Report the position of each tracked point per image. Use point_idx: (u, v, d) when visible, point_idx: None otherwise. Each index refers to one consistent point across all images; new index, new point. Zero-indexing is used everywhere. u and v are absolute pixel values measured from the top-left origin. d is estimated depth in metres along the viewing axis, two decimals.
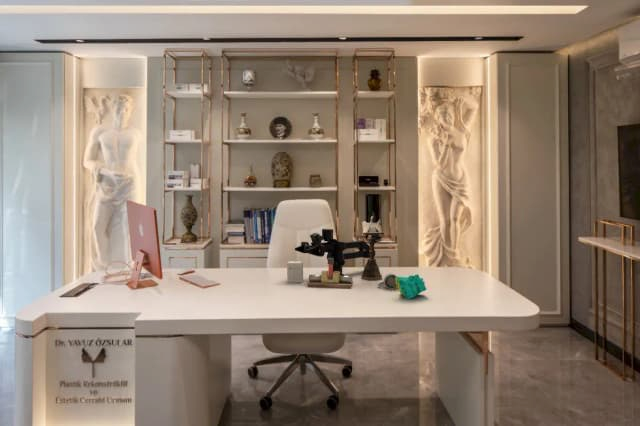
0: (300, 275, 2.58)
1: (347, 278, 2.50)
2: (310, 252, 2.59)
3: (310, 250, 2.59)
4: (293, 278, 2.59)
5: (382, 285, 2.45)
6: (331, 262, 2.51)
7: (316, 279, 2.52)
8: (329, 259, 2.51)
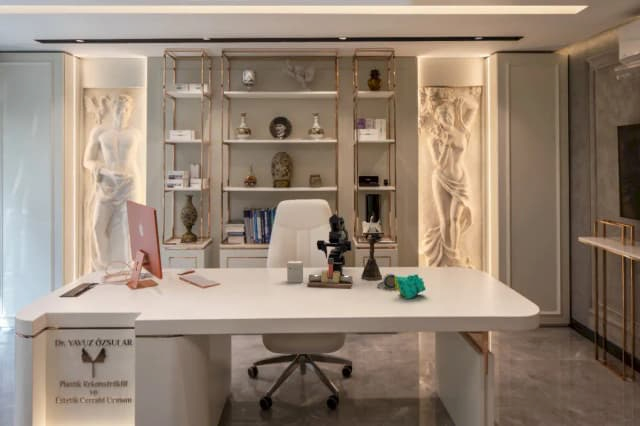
0: (300, 275, 2.58)
1: (347, 278, 2.50)
2: (341, 254, 2.63)
3: (341, 253, 2.62)
4: (293, 278, 2.59)
5: (381, 285, 2.45)
6: (331, 262, 2.51)
7: (316, 279, 2.52)
8: (329, 259, 2.51)
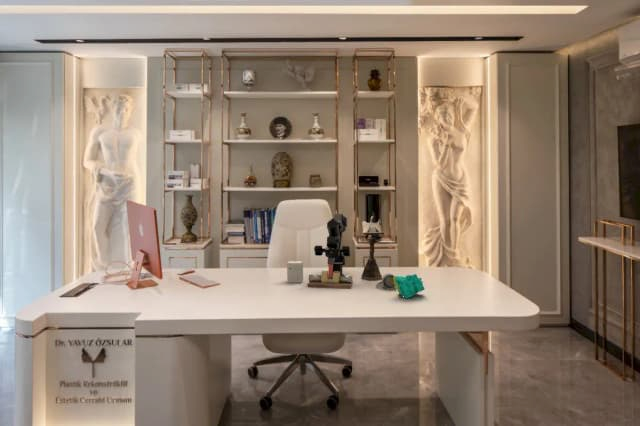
0: (300, 275, 2.58)
1: (347, 278, 2.50)
2: (334, 259, 2.55)
3: (333, 259, 2.54)
4: (293, 278, 2.59)
5: (380, 285, 2.45)
6: (331, 262, 2.50)
7: (316, 279, 2.52)
8: (329, 259, 2.50)
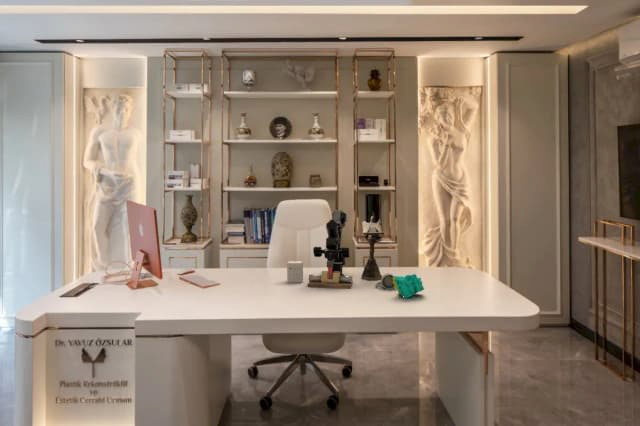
0: (300, 275, 2.58)
1: (347, 278, 2.50)
2: (333, 261, 2.52)
3: (332, 260, 2.52)
4: (293, 278, 2.59)
5: (379, 285, 2.45)
6: (330, 265, 2.48)
7: (316, 279, 2.52)
8: (328, 263, 2.47)
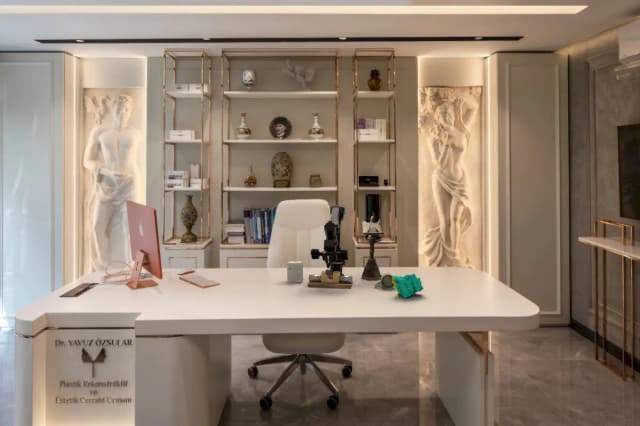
0: (300, 275, 2.58)
1: (347, 278, 2.50)
2: (331, 264, 2.44)
3: (330, 263, 2.44)
4: (293, 278, 2.59)
5: (379, 285, 2.45)
6: (329, 274, 2.45)
7: (316, 279, 2.52)
8: (327, 273, 2.44)
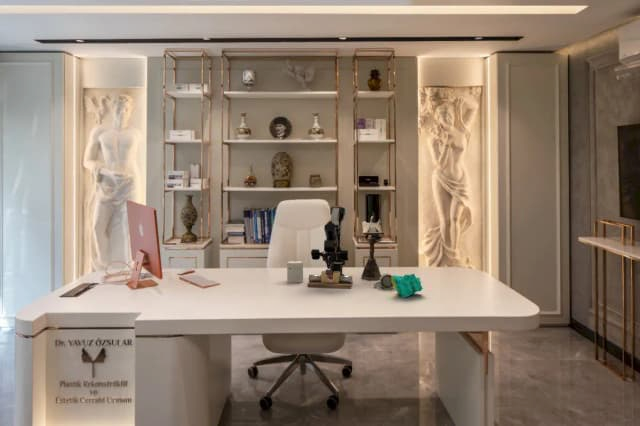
0: (300, 275, 2.58)
1: (347, 278, 2.50)
2: (331, 264, 2.45)
3: (331, 263, 2.45)
4: (293, 278, 2.59)
5: (378, 285, 2.45)
6: (329, 274, 2.45)
7: (316, 279, 2.52)
8: (327, 273, 2.44)
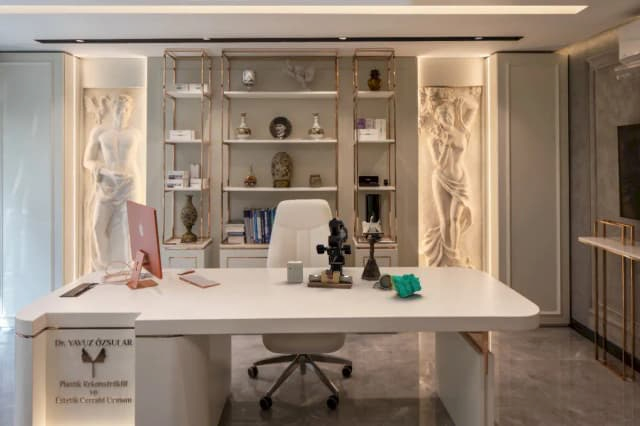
0: (300, 275, 2.58)
1: (347, 278, 2.50)
2: (335, 258, 2.62)
3: (334, 257, 2.61)
4: (293, 278, 2.59)
5: (377, 285, 2.45)
6: (329, 274, 2.45)
7: (316, 279, 2.52)
8: (327, 273, 2.44)
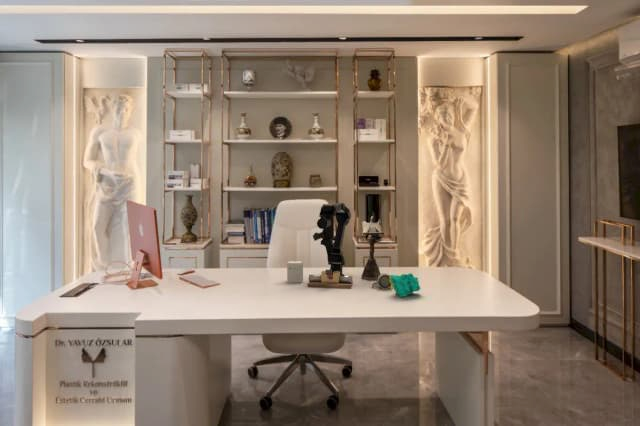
0: (300, 275, 2.58)
1: (347, 278, 2.50)
2: (329, 250, 2.64)
3: (328, 250, 2.64)
4: (293, 278, 2.59)
5: (376, 285, 2.45)
6: (329, 274, 2.45)
7: (316, 279, 2.52)
8: (327, 273, 2.44)
